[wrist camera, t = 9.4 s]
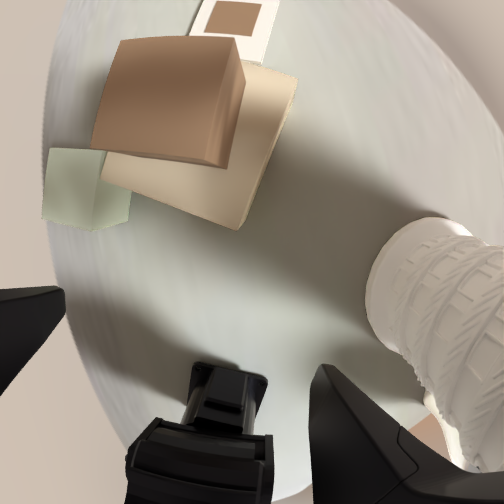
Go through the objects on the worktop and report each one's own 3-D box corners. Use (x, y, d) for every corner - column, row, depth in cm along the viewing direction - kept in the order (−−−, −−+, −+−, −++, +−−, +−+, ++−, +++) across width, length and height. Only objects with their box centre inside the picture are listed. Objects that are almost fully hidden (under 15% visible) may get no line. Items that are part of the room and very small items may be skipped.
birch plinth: (245, 220, 19) (236, 231, 15) (135, 179, 19) (99, 178, 14) (292, 104, 17) (298, 79, 12) (178, 72, 17) (154, 44, 12)
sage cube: (128, 221, 20) (91, 231, 15) (81, 211, 20) (41, 218, 15) (138, 157, 19) (102, 150, 14) (89, 152, 19) (49, 147, 14)
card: (261, 64, 16) (261, 61, 16) (183, 56, 17) (181, 53, 16) (282, -6, 15) (282, -10, 14) (212, -12, 15) (210, -16, 14)
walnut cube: (227, 169, 14) (204, 159, 9) (141, 157, 14) (89, 148, 9) (246, 82, 13) (234, 37, 8) (161, 76, 13) (121, 40, 8)
